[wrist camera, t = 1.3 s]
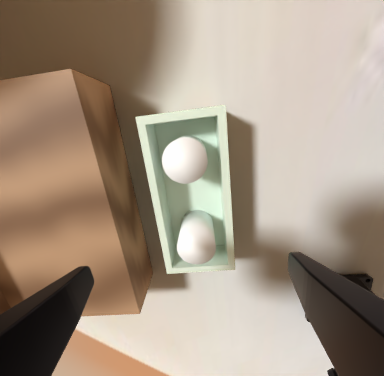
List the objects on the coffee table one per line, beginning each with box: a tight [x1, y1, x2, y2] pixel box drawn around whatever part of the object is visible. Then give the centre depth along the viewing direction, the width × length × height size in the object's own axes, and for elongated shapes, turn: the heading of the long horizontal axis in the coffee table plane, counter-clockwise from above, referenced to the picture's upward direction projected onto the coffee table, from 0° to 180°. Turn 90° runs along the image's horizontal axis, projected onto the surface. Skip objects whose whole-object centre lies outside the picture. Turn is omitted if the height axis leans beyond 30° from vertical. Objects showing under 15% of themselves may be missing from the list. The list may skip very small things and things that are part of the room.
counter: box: [0, 69, 153, 316], centre depth 16 cm, size 20×14×8 cm
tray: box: [135, 105, 235, 274], centre depth 16 cm, size 14×6×5 cm, turn 7°
